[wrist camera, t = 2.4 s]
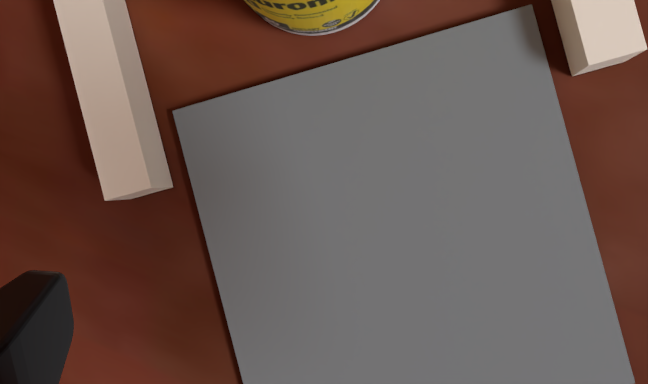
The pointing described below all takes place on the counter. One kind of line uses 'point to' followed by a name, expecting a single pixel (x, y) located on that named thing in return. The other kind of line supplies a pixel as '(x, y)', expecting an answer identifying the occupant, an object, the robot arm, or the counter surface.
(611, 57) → the white u-shaped bracket
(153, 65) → the counter surface
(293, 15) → the supplement bottle
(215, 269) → the mat
